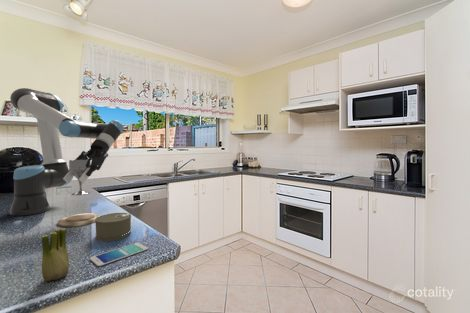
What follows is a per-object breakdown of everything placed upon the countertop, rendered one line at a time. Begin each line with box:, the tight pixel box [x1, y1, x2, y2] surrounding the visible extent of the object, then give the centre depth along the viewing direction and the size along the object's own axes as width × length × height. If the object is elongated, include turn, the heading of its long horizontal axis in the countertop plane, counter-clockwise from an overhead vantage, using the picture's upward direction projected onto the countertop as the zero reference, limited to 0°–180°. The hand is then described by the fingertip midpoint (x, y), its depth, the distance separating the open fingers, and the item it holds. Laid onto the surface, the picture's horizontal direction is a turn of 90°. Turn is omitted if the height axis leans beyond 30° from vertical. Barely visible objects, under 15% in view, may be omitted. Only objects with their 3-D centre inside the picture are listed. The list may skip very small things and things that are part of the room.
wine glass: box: [68, 159, 91, 196], centre depth 103 cm, size 8×8×15 cm
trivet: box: [57, 212, 99, 228], centre depth 104 cm, size 16×16×1 cm
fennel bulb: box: [41, 228, 70, 282], centre depth 58 cm, size 6×5×12 cm
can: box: [94, 212, 132, 242], centre depth 87 cm, size 12×12×7 cm
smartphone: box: [89, 242, 149, 268], centre depth 71 cm, size 8×1×15 cm
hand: (73, 181), depth 100 cm, fingers closed on wine glass, 8 cm apart
